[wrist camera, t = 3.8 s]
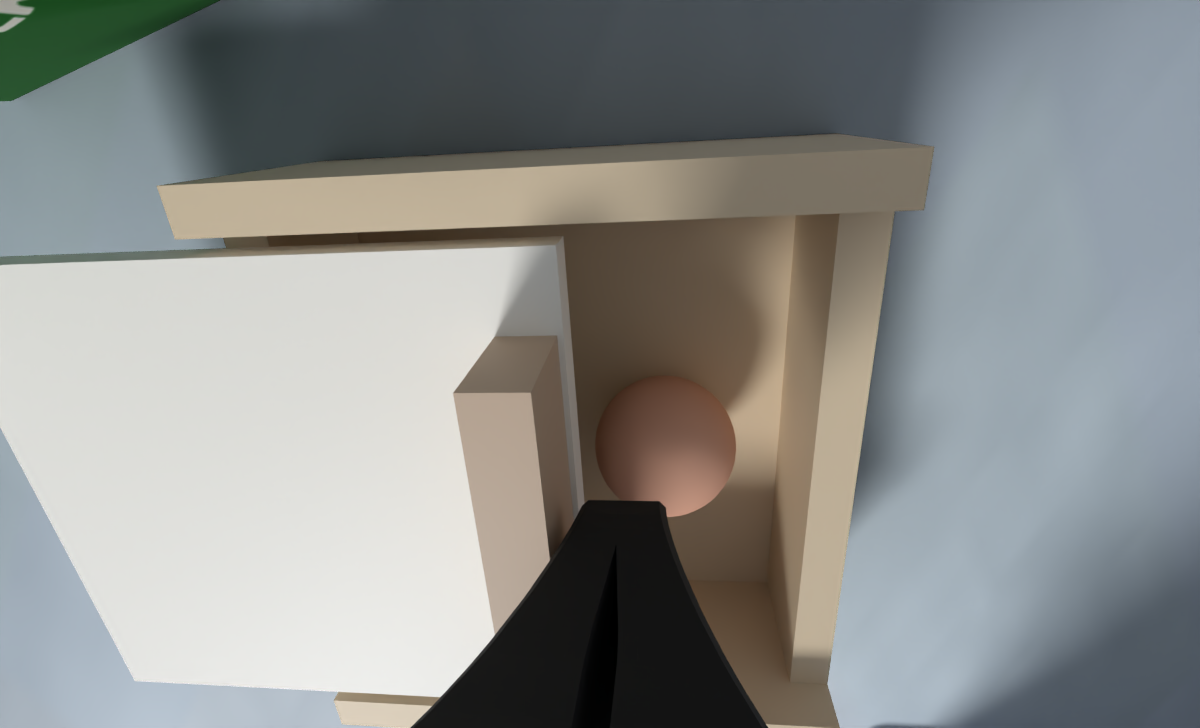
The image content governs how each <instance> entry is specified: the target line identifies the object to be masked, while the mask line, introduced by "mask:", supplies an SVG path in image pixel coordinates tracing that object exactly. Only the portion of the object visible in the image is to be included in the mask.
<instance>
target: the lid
mask: <svg viewBox="0 0 1200 728" xmlns="http://www.w3.org/2000/svg"><path fill="white" fill-rule="evenodd" d="M0 428H1V430H2V431H3V433H4V435H5V437H6V439H7V441H8V443H9V445H10V447H11V448H12V450H13V452H14V454H15V456H16V458H17V460H18V462H19V463H20V465H21V467H22V469H23V471H24V473H25V475H26V477H27V479H28V480H29V482H30V484H31V486H32V488H33V490H34V492H35V494H36V496H37V497H38V499H39V501H40V503H41V505H42V507H43V509H44V511H45V512H46V514H47V516H48V518H49V520H50V522H51V524H52V526H53V528H54V529H55V531H56V533H57V535H58V537H59V539H60V541H61V543H62V544H63V546H64V548H65V550H66V552H67V554H68V556H69V558H70V560H71V561H72V563H73V565H74V567H75V569H76V571H77V573H78V575H79V576H80V578H81V580H82V582H83V584H84V586H85V588H86V590H87V592H88V593H89V595H90V597H91V599H92V601H93V603H94V605H95V607H96V609H97V610H98V612H99V614H100V616H101V618H102V620H103V622H104V624H105V625H106V627H107V629H108V631H109V633H110V635H111V637H112V639H113V641H114V642H115V644H116V646H117V648H118V650H119V652H120V654H121V656H122V657H123V659H124V661H125V663H126V665H127V667H128V669H129V671H130V673H131V674H132V676H133V678H134V680H135V681H145V682H164V683H182V684H201V685H220V686H239V687H258V688H277V689H296V690H314V691H333V692H352V693H371V694H390V695H409V696H428V697H441V696H442V695H443V694H444V693H445V692H446V691H447V690H448V689H449V687H450V686H451V685H452V684H453V683H454V682H455V681H456V680H457V679H458V678H459V677H460V675H461V674H462V673H463V672H464V671H465V670H466V669H467V668H468V666H469V665H470V664H471V663H472V662H473V661H474V660H475V658H476V657H477V656H478V655H479V654H480V653H481V651H482V650H483V649H484V648H485V647H486V645H487V644H488V643H489V642H490V641H491V639H492V638H493V637H494V636H495V634H496V633H497V632H498V630H499V629H500V628H501V627H502V625H503V624H504V623H505V621H506V620H507V619H508V618H509V616H510V615H511V614H512V612H513V611H514V610H515V609H516V607H517V606H518V605H519V604H520V602H521V601H522V600H523V598H524V597H525V595H526V594H527V593H528V591H529V590H530V588H531V587H532V586H533V584H534V583H535V581H536V580H537V578H538V577H539V575H540V574H541V573H542V571H543V570H544V568H545V567H546V565H547V564H548V562H549V561H550V559H551V558H552V556H553V555H554V553H555V552H556V550H557V548H558V547H559V545H560V544H561V542H562V541H563V539H564V537H565V536H566V534H567V532H568V531H569V529H570V527H571V525H572V524H573V522H574V520H575V518H576V516H577V515H578V513H579V511H580V509H581V507H582V505H583V504H585V502H584V490H583V477H582V465H581V452H580V440H579V427H578V415H577V402H576V390H575V377H574V365H573V352H572V339H571V327H570V314H569V302H568V289H567V277H566V264H565V252H564V239H563V236H548V237H521V238H494V239H467V240H440V241H413V242H386V243H359V244H332V245H305V246H278V247H250V248H223V249H196V250H169V251H142V252H115V253H88V254H61V255H34V256H7V257H0Z"/></svg>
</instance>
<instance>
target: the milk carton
mask: <svg viewBox="0 0 1200 728" xmlns="http://www.w3.org/2000/svg"><path fill="white" fill-rule="evenodd" d="M218 1H220V0H0V101H12V100H14V99H17V98H19V97H21V96H23V95H25V94H27V93H29V92H31V91H33V90H35V89H37V88H39V87H41V86H43V85H46V84H48V83H50V82H52V81H54V80H56V79H58V78H60V77H62V76H64V75H66V74H68V73H70V72H73V71H75V70H77V69H79V68H81V67H83V66H85V65H87V64H89V63H91V62H93V61H95V60H97V59H99V58H102V57H104V56H106V55H108V54H110V53H112V52H114V51H116V50H118V49H120V48H122V47H124V46H126V45H128V44H131V43H133V42H135V41H137V40H139V39H141V38H143V37H145V36H147V35H149V34H151V33H153V32H155V31H158V30H160V29H162V28H164V27H166V26H168V25H170V24H172V23H174V22H176V21H178V20H180V19H182V18H184V17H187V16H189V15H191V14H193V13H195V12H197V11H199V10H201V9H203V8H205V7H207V6H209V5H211V4H213V3H216V2H218Z"/></svg>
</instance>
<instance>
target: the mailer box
mask: <svg viewBox="0 0 1200 728" xmlns="http://www.w3.org/2000/svg"><path fill="white" fill-rule="evenodd" d="M933 152H934V147H933V146H926V145H918V144H911V143H904V142H896V141H889V140H881V139H874V138H866V137H859V136H852V135H844V134H837V133H834V134H816V135H797V136H779V137H760V138H741V139H723V140H704V141H686V142H667V143H649V144H630V145H611V146H593V147H574V148H556V149H537V150H518V151H500V152H481V153H463V154H444V155H426V156H407V157H388V158H370V159H351V160H333V161H319V162H312V163H305V164H299V165H292V166H285V167H279V168H272V169H266V170H259V171H252V172H246V173H239V174H232V175H226V176H219V177H213V178H206V179H199V180H193V181H186V182H179V183H173V184H166V185H159V186H157V188H158V191H159V194H160V197H161V200H162V203H163V206H164V208H165V211H166V214H167V217H168V220H169V223H170V226H171V229H172V232H173V235H174V238H175V239H200V238H223V239H224V242H225V246H226V248H250V247H278V246H305V245H332V244H359V243H386V242H413V241H440V240H467V239H494V238H521V237H548V236H563V239H564V252H565V264H566V277H567V289H568V302H569V314H570V327H571V339H572V352H573V365H574V377H575V390H576V402H577V415H578V427H579V440H580V452H581V465H582V477H583V490H584V502H585V503H586V502H587V501H588V500H620V499H619V498H618V497H617V496H616V495H615V494H614V493H613V492H612V490H611V489H610V488H609V487H608V485H607V484H606V482H605V481H604V478H603V476H602V474H601V472H600V470H599V466H598V463H597V458H596V451H595V439H596V432H597V428H598V424H599V421H600V418H601V416H602V414H603V412H604V410H605V409H606V407H607V406H608V404H609V403H610V401H611V400H612V399H613V398H614V397H615V396H616V395H617V394H618V393H619V392H620V391H622V390H623V389H624V388H626V387H627V386H629V385H630V384H632V383H634V382H636V381H639V380H641V379H645V378H648V377H653V376H676V377H681V378H685V379H688V380H691V381H693V382H695V383H697V384H699V385H701V386H702V387H704V388H705V389H707V390H708V391H709V392H710V393H712V394H713V395H714V396H715V397H716V398H717V399H718V400H719V402H720V403H721V404H722V406H723V407H724V408H725V410H726V412H727V413H728V415H729V417H730V420H731V423H732V425H733V428H734V433H735V438H736V455H735V462H734V466H733V470H732V472H731V474H730V477H729V479H728V481H727V483H726V484H725V486H724V488H723V489H722V490H721V491H720V492H719V494H718V495H717V496H716V497H715V498H714V499H713V500H712V501H711V502H709V503H708V504H706V505H705V506H703V507H702V508H700V509H698V510H696V511H694V512H691V513H689V514H685V515H681V516H675V517H667V519H668V524H669V528H670V532H671V535H672V538H673V542H674V545H675V548H676V550H677V553H678V556H679V559H680V562H681V564H682V567H683V569H684V572H685V574H686V576H687V579H688V581H689V583H690V585H691V588H692V590H693V592H694V594H695V597H696V599H697V601H698V603H699V606H700V608H701V610H702V612H703V614H704V616H705V618H706V620H707V622H708V624H709V626H710V628H711V630H712V632H713V634H714V636H715V638H716V639H717V641H718V643H719V645H720V647H721V649H722V651H723V653H724V655H725V656H726V658H727V660H728V662H729V664H730V665H731V667H732V669H733V671H734V672H735V674H736V676H737V678H738V679H739V681H740V683H741V684H742V686H743V688H744V690H745V691H746V693H747V694H748V696H749V698H750V699H751V701H752V703H753V704H754V706H755V707H756V709H757V711H758V712H759V714H760V715H761V717H762V719H763V720H764V722H765V723H766V725H767V726H768V728H840V727H839V724H838V720H837V717H836V713H835V710H834V706H833V703H832V699H831V696H830V692H829V689H828V685H827V682H828V675H829V668H830V661H831V654H832V647H833V640H834V633H835V626H836V619H837V612H838V605H839V598H840V591H841V584H842V577H843V570H844V563H845V556H846V549H847V542H848V535H849V528H850V521H851V514H852V507H853V500H854V493H855V486H856V479H857V472H858V465H859V458H860V451H861V444H862V437H863V430H864V423H865V416H866V409H867V402H868V395H869V388H870V381H871V374H872V367H873V360H874V353H875V346H876V339H877V332H878V325H879V318H880V311H881V304H882V297H883V290H884V283H885V276H886V269H887V262H888V255H889V248H890V241H891V234H892V227H893V220H894V213H895V211H915V210H924V207H925V201H926V195H927V189H928V182H929V176H930V170H931V164H932V158H933ZM439 698H440V697H428V696H409V695H390V694H371V693H352V692H338V694H337V696H336V698H335V699H334V703H335V705H336V708H337V711H338V714H339V717H340V720H341V723H342V724H345V725H362V726H378V727H395V728H411V727H412V726H413V725H414V724H415V723H416V722H417V721H418V720H419V719H420V718H421V717H422V716H423V715H424V714H425V713H426V712H427V711H428V710H429V709H430V708H431V707H432V706H433V705H434V704H435V702H436V701H437V700H438V699H439Z"/></svg>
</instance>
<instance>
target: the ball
mask: <svg viewBox="0 0 1200 728" xmlns="http://www.w3.org/2000/svg"><path fill="white" fill-rule="evenodd" d="M595 451H596V458H597V463H598V466H599V470H600V472H601V474H602V476H603V478H604V481H605V482H606V484H607V485H608V487H609V488H610V489H611V490H612V492H613V493H614V494H615V495H616V496H617V497H618V498H619V499H620V500H622V501H660V502H661V503H662V504H663V505H664V506H665V507H666V514H667V517H675V516H681V515H685V514H689V513H691V512H694V511H696V510H698V509H700V508H702V507H703V506H705V505H706V504H708V503H709V502H711V501H712V500H713V499H714V498H715V497H716V496H717V495H718V494H719V492H720V491H721V490H722V489H723V488H724V486H725V484H726V483H727V481H728V479H729V477H730V474H731V472H732V470H733V466H734V462H735V455H736V438H735V433H734V428H733V425H732V423H731V420H730V417H729V415H728V413H727V412H726V410H725V408H724V407H723V406H722V404H721V403H720V402H719V400H718V399H717V398H716V397H715V396H714V395H713V394H712V393H710V392H709V391H708V390H707V389H705V388H704V387H702V386H701V385H699V384H697V383H695V382H693V381H691V380H688V379H685V378H681V377H676V376H653V377H648V378H645V379H641V380H639V381H636V382H634V383H632V384H630V385H629V386H627V387H626V388H624V389H623V390H622V391H620V392H619V393H618V394H617V395H616V396H615V397H614V398H613V399H612V400H611V401H610V403H609V404H608V406H607V407H606V409H605V410H604V412H603V414H602V416H601V418H600V421H599V424H598V428H597V432H596V439H595Z"/></svg>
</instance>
